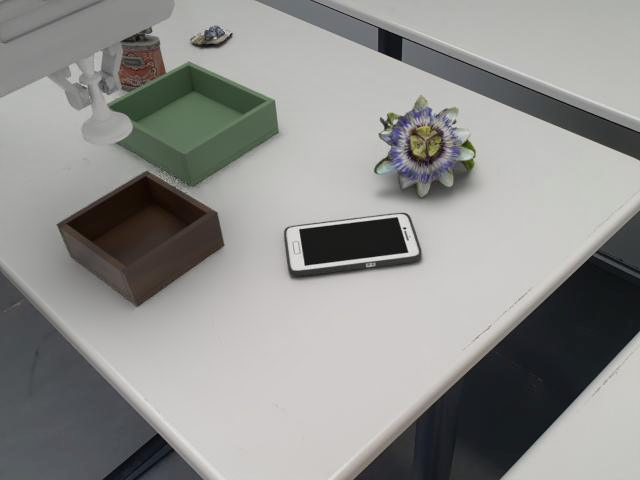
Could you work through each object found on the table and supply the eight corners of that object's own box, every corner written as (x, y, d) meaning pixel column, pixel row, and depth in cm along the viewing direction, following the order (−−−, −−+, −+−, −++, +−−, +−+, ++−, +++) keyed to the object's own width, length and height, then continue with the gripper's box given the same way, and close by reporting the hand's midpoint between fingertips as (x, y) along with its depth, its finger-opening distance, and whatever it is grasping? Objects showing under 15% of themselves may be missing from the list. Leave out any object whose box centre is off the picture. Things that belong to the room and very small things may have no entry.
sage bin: (109, 138, 95) (99, 107, 92) (195, 91, 103) (188, 61, 99) (192, 186, 87) (184, 154, 83) (279, 131, 94) (275, 99, 91)
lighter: (116, 91, 104) (96, 25, 97) (125, 79, 106) (107, 14, 99) (165, 95, 103) (149, 28, 95) (174, 83, 105) (158, 17, 97)
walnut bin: (70, 256, 79) (55, 224, 76) (156, 202, 85) (146, 170, 82) (137, 307, 73) (124, 274, 70) (224, 245, 79) (217, 212, 76)
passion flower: (420, 228, 88) (369, 181, 79) (401, 166, 93) (352, 116, 84) (501, 182, 83) (456, 127, 74) (475, 119, 88) (431, 61, 79)
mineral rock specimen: (187, 49, 112) (185, 38, 110) (195, 27, 117) (193, 15, 116) (228, 48, 111) (227, 36, 110) (235, 25, 117) (233, 14, 115)
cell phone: (283, 233, 80) (282, 226, 79) (408, 217, 81) (409, 211, 80) (289, 279, 75) (288, 272, 74) (423, 262, 75) (423, 255, 75)
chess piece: (139, 134, 67) (110, 34, 60) (90, 151, 66) (54, 50, 59) (123, 112, 70) (93, 14, 63) (76, 127, 69) (40, 29, 62)
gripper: (125, -104, 62) (161, 46, 72) (-93, -26, 52) (-16, 134, 62) (170, -91, 59) (200, 64, 69) (-53, -6, 49) (21, 159, 59)
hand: (96, 98), depth 66 cm, fingers closed on chess piece
